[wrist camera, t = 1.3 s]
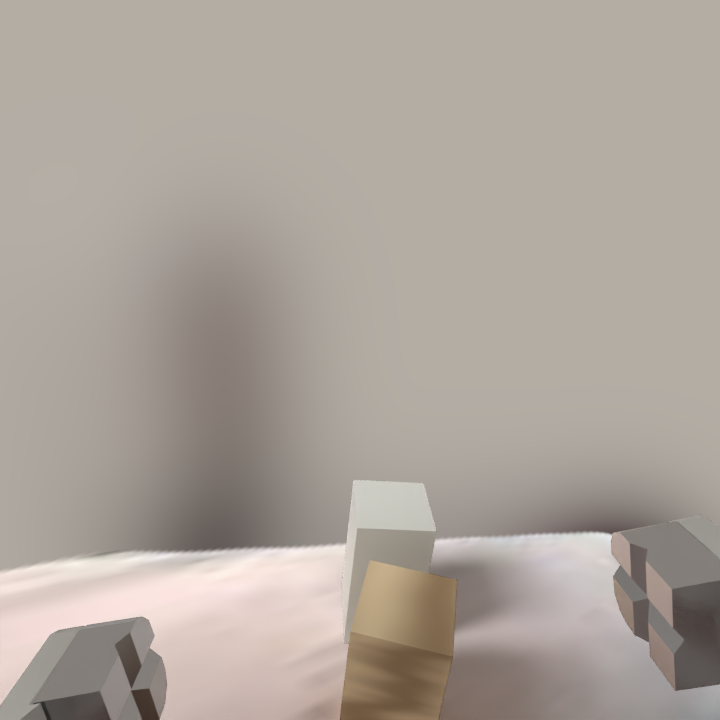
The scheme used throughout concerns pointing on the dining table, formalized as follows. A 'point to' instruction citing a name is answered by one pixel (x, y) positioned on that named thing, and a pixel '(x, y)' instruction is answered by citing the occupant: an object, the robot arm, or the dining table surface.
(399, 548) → the grey block
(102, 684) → the robot arm
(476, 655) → the dining table surface
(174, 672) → the dining table surface
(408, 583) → the oak block
